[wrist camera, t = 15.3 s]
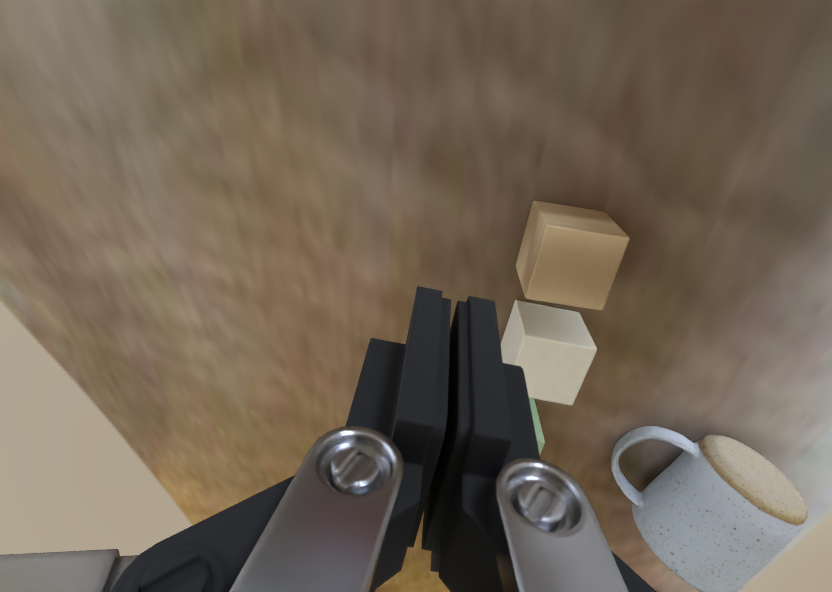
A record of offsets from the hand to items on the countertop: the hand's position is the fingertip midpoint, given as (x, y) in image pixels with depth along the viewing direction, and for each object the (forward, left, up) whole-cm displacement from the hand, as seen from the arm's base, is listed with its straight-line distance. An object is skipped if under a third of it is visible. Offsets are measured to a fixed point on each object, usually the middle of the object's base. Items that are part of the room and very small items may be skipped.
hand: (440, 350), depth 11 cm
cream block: (+9, +8, -18) cm, 22 cm away
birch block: (+3, +8, -18) cm, 20 cm away
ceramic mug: (+18, +22, -18) cm, 34 cm away
